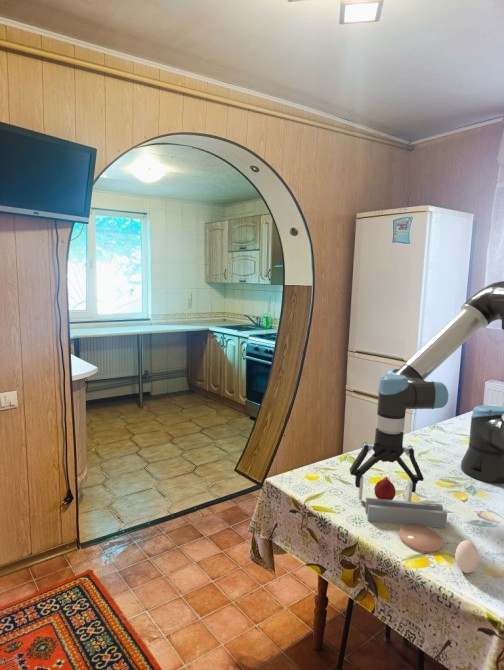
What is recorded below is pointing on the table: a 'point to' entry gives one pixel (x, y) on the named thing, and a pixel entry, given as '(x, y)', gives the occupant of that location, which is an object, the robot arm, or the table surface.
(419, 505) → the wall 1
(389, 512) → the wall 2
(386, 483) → the onion
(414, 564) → the table surface
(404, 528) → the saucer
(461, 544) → the egg
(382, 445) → the robot arm
